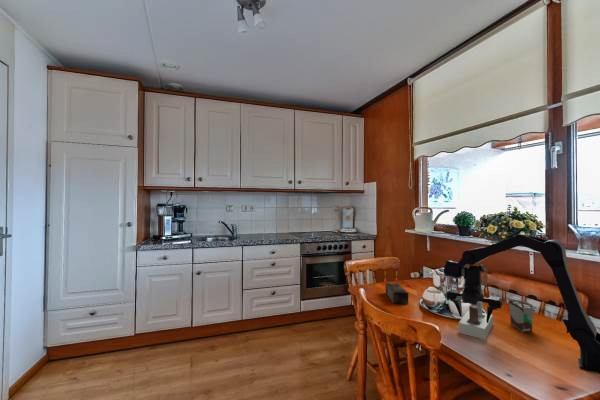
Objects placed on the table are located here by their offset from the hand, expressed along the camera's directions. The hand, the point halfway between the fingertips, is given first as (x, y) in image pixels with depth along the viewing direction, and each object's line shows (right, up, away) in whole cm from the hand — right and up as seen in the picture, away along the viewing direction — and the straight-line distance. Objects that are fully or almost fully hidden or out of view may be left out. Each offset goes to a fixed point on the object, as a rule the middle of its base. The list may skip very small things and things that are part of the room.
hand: (473, 319), depth 113 cm
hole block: (+3, -5, +3) cm, 7 cm away
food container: (+23, -5, +3) cm, 24 cm away
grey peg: (+6, -5, +7) cm, 10 cm away
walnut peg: (0, -5, 0) cm, 5 cm away
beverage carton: (-17, -7, +42) cm, 46 cm away
